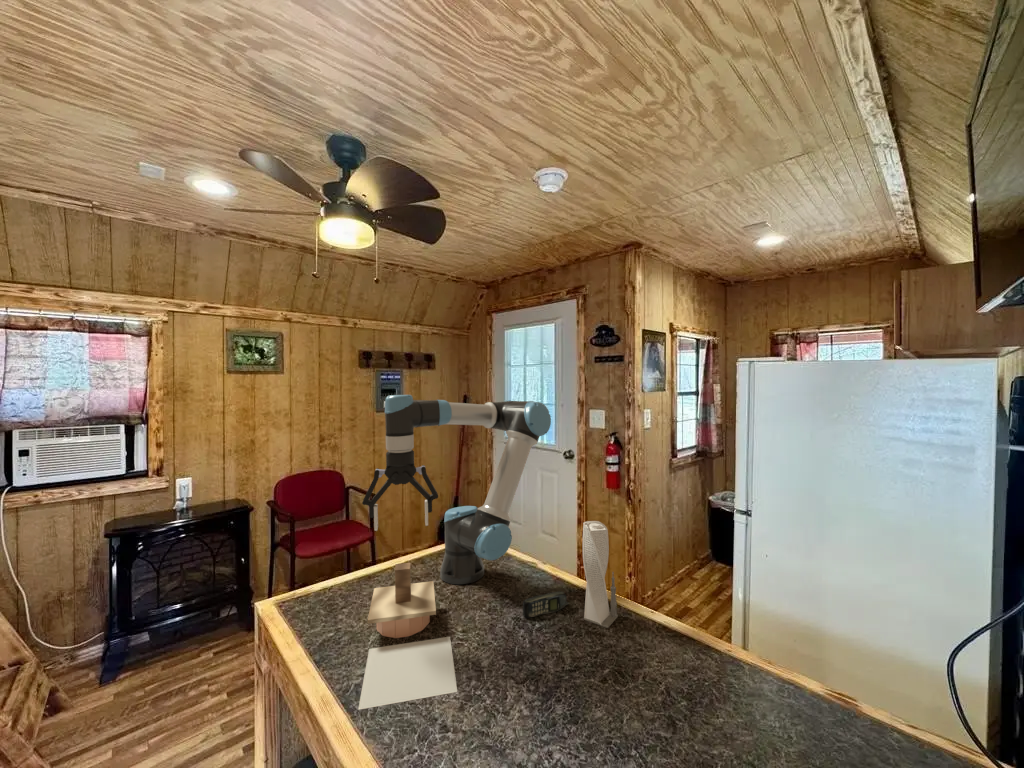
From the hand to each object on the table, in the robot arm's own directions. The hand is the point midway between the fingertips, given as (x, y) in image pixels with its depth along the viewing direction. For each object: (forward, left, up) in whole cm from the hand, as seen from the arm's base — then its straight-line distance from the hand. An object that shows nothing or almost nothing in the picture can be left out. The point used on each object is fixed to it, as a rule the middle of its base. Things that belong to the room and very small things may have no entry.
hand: (401, 526), depth 116 cm
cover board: (0, +1, -21) cm, 21 cm away
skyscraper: (-53, +12, -27) cm, 61 cm away
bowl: (0, +1, -27) cm, 27 cm away
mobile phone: (-40, +4, -27) cm, 49 cm away
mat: (-2, +21, -27) cm, 34 cm away
